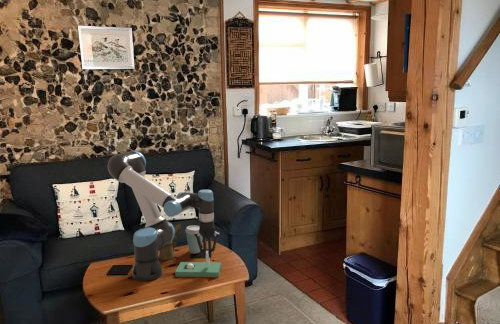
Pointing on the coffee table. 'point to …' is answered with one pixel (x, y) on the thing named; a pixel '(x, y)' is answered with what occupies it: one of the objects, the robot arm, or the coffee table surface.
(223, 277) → the coffee table surface
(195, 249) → the disposable coffee cup
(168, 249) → the wooden mug
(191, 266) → the ball
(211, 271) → the putting mat
